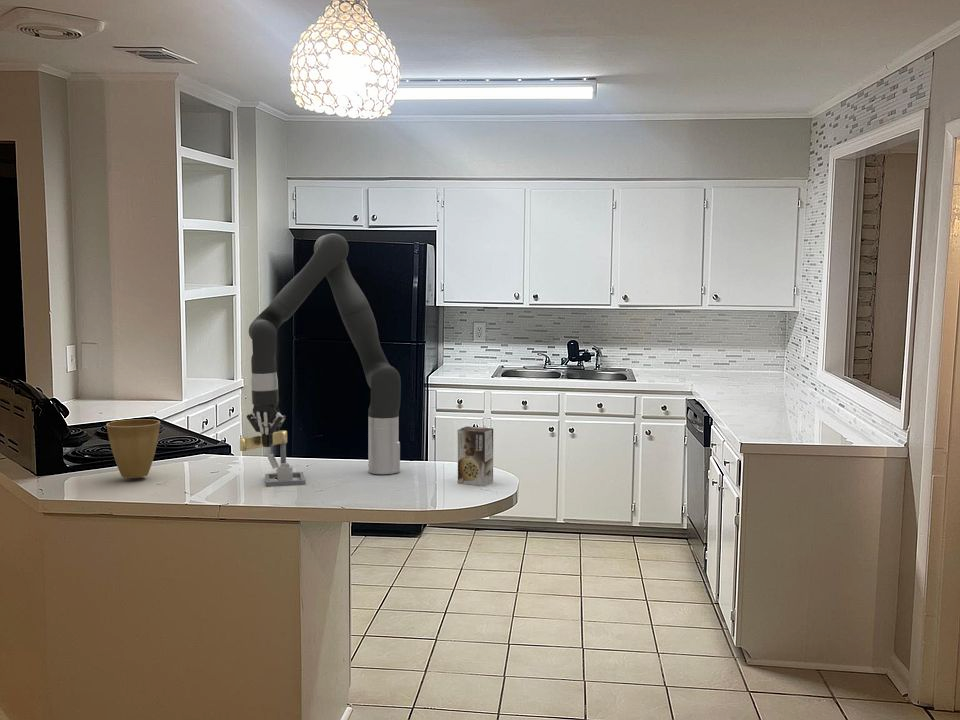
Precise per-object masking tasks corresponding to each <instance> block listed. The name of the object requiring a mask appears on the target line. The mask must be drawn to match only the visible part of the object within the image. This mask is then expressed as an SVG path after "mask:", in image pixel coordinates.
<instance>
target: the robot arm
mask: <svg viewBox="0 0 960 720" xmlns="http://www.w3.org/2000/svg"><path fill="white" fill-rule="evenodd" d="M349 251H350V249H349V244H348V242H347V239H346V238H345V237H344V236H342V235H340V234H338V233H327V234H325V235H321V236H319V238H317V239H316V241H315V243H314V245H313V255H312V256H311V258H310V259H309V260H308V262H306V264H305V266H303V268H302V269H301V270H300V271H299V272H298V273H296V275H295V276H294V277H293V278H292V279H290V281H289V282H287V284H286V285H284V286H283V288H282V289H281V290H280V291H279V292H278V293H277V294H276V296H275V297H274V298H273V299H272V301H271V302H270V303H269V305H267V307H266V308H265V309H263V310H262V311H261V313H259V314H258V316H256V317H255V319H254V320H253V321H252V322H251V323H250V324H249V327H248V335H249V338H250V339H251V343H252V345H251V346H252V356H251V359H250V363H251V365H250V366H251V380H250V381H251V383H250V385H251V387H250V388H251V404H252V405H253V407H252V412H251V413H250V414H247V415H246V419H247V420H248V422H249V424H250V425H251V426H252V428H253V429H254V431H255V433H260V435H262V444H263V446H264V447H263V448H271V447H272V446H273V445H272V444H273V433H274V432H279V431H280V428H281V427H282V426H283V424H284V422H285V421H286V419H287V416H286V415H284V414H283V415H282V413H281V412H280V409H279V407H278V405H279V401H280V399H279V382H278V381H279V379H278V374H277V358H276V352H277V351H276V349H277V330H278V329H279V328H280V327H281V326H282V325H283V324H284V322H287V321H288V320H289V319H290V318H291V317H292V316H293V315H294V314H295V313H296V311H298V309H299V308H300V307H301V306H302V304H303V303H304V302H305V300H306V299H308V296H310V294H311V293H312V292H313V290H314V289H315V288H316V287H317V286H318V285H319V284H320V282H322V280H323V279H324V278H326V279H327V281H328V283H329V284H328V285H329V286H330V288H331V289H330V290H331V292H332V295H333V299H334V301H335V304H336V306H337V309H338V310H337V311H338V312H339V315H340V318H341V321H342V322H343V326H344V327H345V330H346V331H347V334H348V336H349V338H350V340H351V343H352V344H353V346H354V348H355V350H356V352H357V354H358V356H359V359H360V362H361V366H362V369H363V373H364V375H365V379H366V380H365V381H366V383H367V385H368V387H369V389H370V404H369V407H368V409H367V410H368V412H367V413H368V415H367V416H368V417H367V418H368V430H367V431H368V434H367V435H368V436H367V437H368V447H367V448H368V449H367V450H368V453H367V455H368V459H367V460H368V464H367V465H368V472H369V473H370V474H374V475H391V474H392V475H393V474H396V473H397V474H398V473H400V472H401V468H400V467H401V441H399V435H400V434H399V431H400V430H399V424H400V423H399V418H400V417H399V415H400V414H399V413H400V408H401V395H402V392H401V390H402V381H401V375H400V373H399V371H398V370H397V369H396V367H394V366H392V365H391V364H390V363H389V361H388V359H387V358H386V355H385V353H384V350H383V348H382V347H381V342H380V338H379V332H378V327H377V322H376V318H375V316H374V312H373V311H372V308H371V305H370V303H369V301H368V299H367V297H366V295H365V294H364V292H363V290H362V289H361V288H360V286H359V284H358V283H357V281H356V280H355V278H354V277H353V275H352V273H351V270H350V267H349V264H348V261H347V257H348V255H349Z"/></svg>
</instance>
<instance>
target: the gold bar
mask: <svg viewBox="0 0 960 720" xmlns="http://www.w3.org/2000/svg"><path fill="white" fill-rule="evenodd" d="M281 443H286V444H287V443H288V431H287V430H278V431H277V432H274V433H273V444H272V446H276V445H280V444H281ZM261 448H265V447H264V446H263V444H262V434H258V435H252V436H247V437H240V438H239V451H240V452H246V451H249V450H250V451H252V450H256V449H261Z"/></svg>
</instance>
